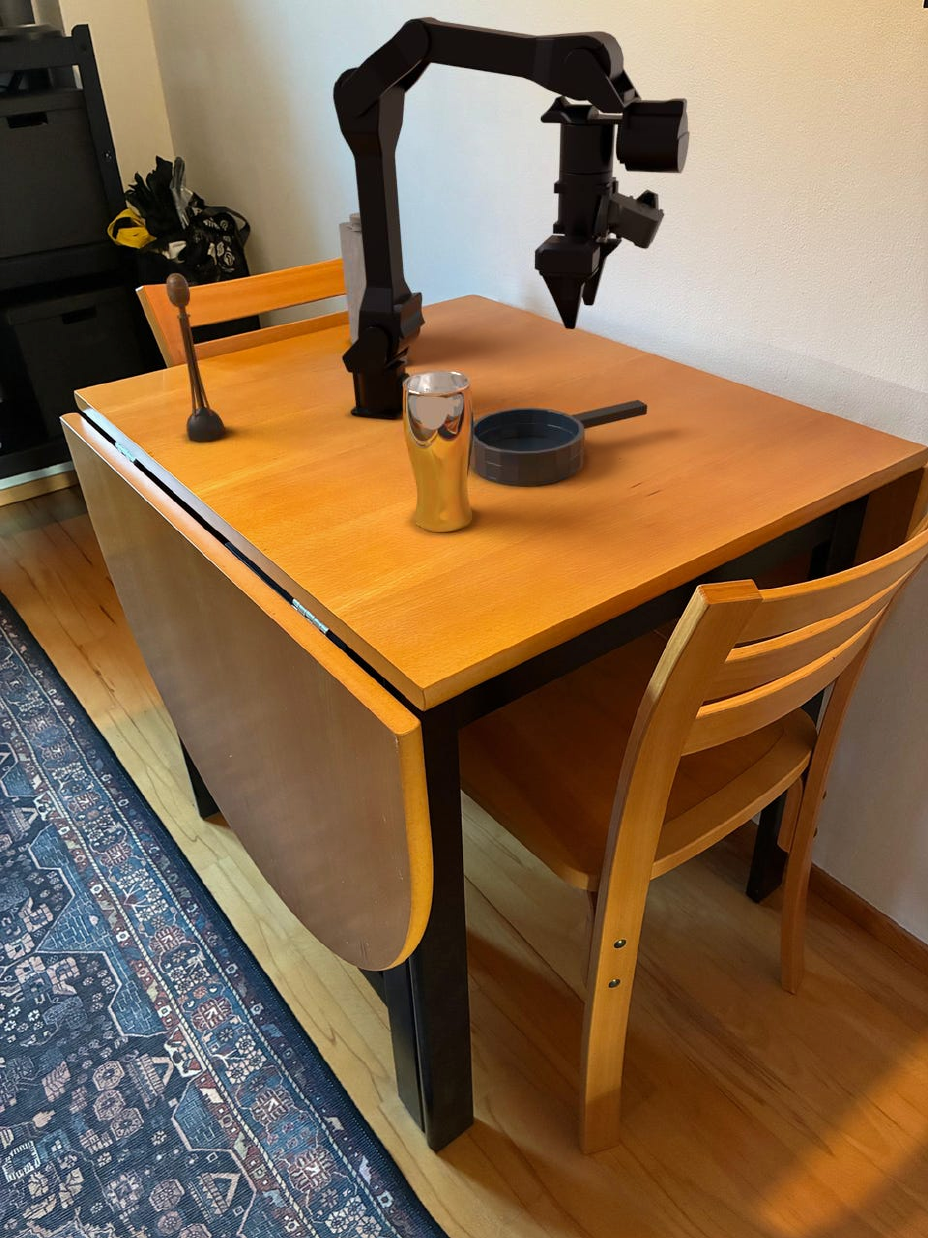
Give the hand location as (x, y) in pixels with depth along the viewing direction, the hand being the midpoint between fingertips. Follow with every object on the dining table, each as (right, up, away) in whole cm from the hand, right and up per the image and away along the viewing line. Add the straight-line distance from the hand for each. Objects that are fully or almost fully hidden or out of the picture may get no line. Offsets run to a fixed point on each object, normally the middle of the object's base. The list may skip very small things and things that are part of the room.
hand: (579, 316), depth 112 cm
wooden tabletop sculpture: (-46, -11, +12) cm, 49 cm away
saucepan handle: (+4, -11, +4) cm, 12 cm away
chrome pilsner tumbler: (-16, -25, -10) cm, 31 cm away
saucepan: (-6, -17, +1) cm, 18 cm away
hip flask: (-27, +6, +36) cm, 45 cm away
